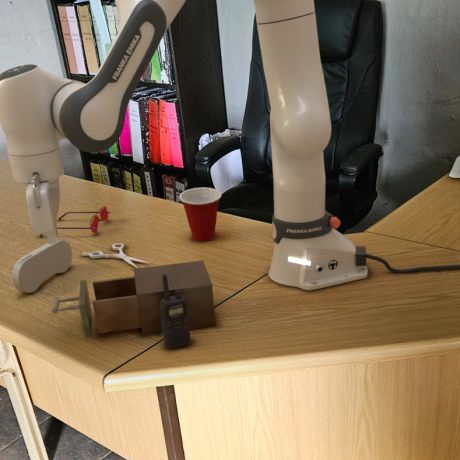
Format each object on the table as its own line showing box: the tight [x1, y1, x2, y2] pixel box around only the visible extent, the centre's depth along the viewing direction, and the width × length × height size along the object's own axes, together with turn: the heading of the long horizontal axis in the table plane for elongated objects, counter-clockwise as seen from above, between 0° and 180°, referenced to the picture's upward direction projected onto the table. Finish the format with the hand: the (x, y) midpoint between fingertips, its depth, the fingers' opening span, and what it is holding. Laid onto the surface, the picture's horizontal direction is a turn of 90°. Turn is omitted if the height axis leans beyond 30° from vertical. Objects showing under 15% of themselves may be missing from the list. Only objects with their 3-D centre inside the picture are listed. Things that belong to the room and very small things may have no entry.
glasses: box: [39, 205, 111, 238], centre depth 181 cm, size 14×16×5 cm
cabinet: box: [133, 259, 216, 337], centre depth 130 cm, size 15×13×9 cm
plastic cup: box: [179, 187, 222, 242], centre depth 167 cm, size 11×11×12 cm
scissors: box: [81, 242, 150, 269], centre depth 160 cm, size 11×1×20 cm
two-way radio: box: [159, 274, 192, 350], centre depth 119 cm, size 6×4×15 cm
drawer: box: [51, 275, 142, 339], centre depth 128 cm, size 19×11×7 cm, turn 100°
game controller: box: [11, 237, 73, 294], centre depth 150 cm, size 20×2×8 cm, turn 156°
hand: (53, 240), depth 120 cm, fingers closed
